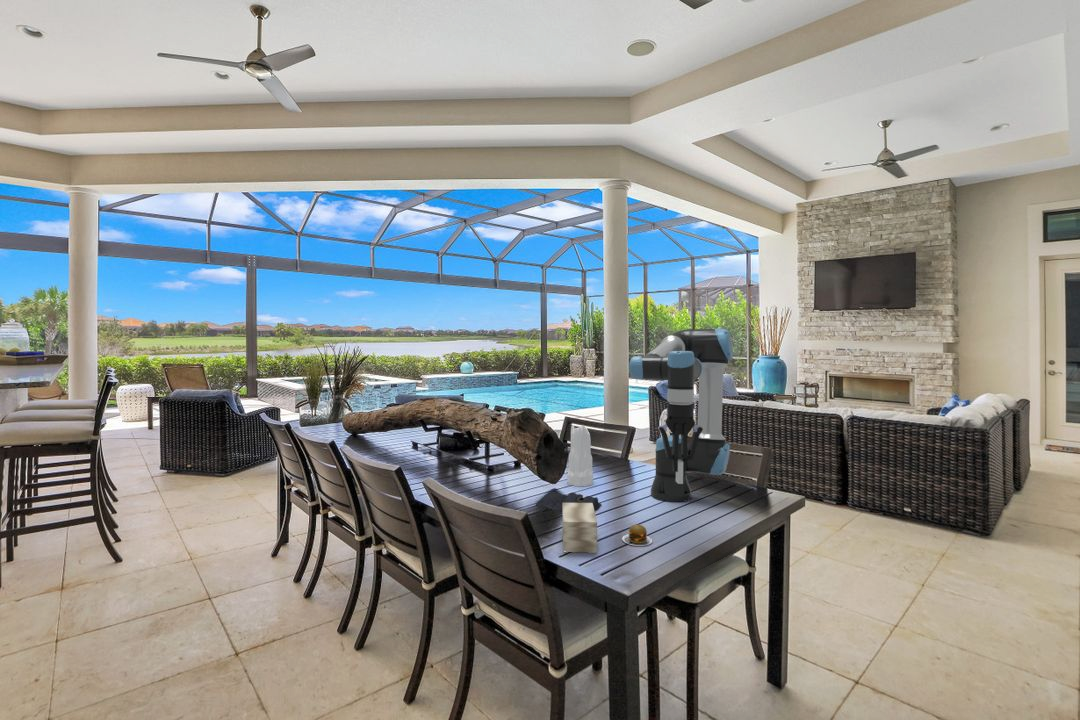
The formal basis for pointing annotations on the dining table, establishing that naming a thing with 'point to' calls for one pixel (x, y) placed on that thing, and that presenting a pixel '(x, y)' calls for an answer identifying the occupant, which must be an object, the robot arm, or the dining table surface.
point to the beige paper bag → (579, 527)
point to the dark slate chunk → (565, 500)
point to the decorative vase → (580, 458)
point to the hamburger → (637, 535)
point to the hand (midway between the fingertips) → (679, 482)
